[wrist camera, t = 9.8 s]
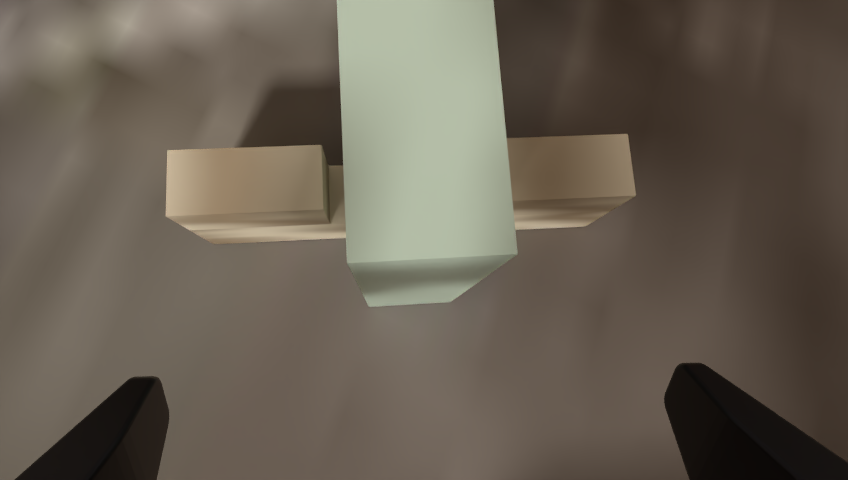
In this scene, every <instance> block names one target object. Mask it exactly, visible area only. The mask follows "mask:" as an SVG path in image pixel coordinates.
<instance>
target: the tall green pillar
mask: <svg viewBox="0 0 848 480" xmlns="http://www.w3.org/2000/svg"><path fill="white" fill-rule="evenodd" d="M337 16H338V41H339V67H340V93H341V119H342V145H343V171H344V197H345V222H346V248H347V264H348V266H349V268H350V270H351V272H352V274H353V276H354V278H355V280H356V282H357V284H358V286H359V288H360V290H361V292H362V294H363V296H364V298H365V300H366V302H367V304H368V306H369V307H375V306H392V305H409V304H426V303H443V302H451V301H453V300H454V299H455V298H457V297H458V296H460V295H461V294H462V293H464V292H465V291H467V290H468V289H469V288H471V287H472V286H474V285H475V284H476V283H478V282H479V281H481V280H482V279H483V278H485V277H486V276H488V275H489V274H490V273H492V272H493V271H495V270H496V269H497V268H499V267H500V266H502V265H503V264H504V263H506V262H507V261H509V260H510V259H511V258H513V257H514V256H516V255H517V254H518V253H517V243H516V232H515V222H514V211H513V201H512V190H511V180H510V169H509V159H508V148H507V138H506V127H505V117H504V106H503V96H502V85H501V75H500V64H499V54H498V43H497V33H496V22H495V12H494V1H493V0H337Z"/></svg>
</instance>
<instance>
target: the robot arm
mask: <svg viewBox="0 0 848 480" xmlns="http://www.w3.org/2000/svg"><path fill="white" fill-rule="evenodd" d="M664 403H665V408H666V411H667V414H668V417H669V420H670V423H671V426H672V429H673V432H674V435H675V438H676V441H677V444H678V447H679V450H680V453H681V456H682V459H683V462H684V465H685V468H686V471H687V474H688V477H689V479H690V480H848V462H846V461H845V460H843V459H842V458H840V457H839V456H837V455H836V454H835V453H833V452H832V451H830V450H829V449H827V448H826V447H824V446H823V445H821V444H820V443H818V442H817V441H816V440H814V439H813V438H811V437H810V436H808V435H807V434H805V433H804V432H802V431H801V430H800V429H798V428H797V427H795V426H794V425H792V424H791V423H789V422H788V421H786V420H785V419H783V418H782V417H781V416H779V415H778V414H776V413H775V412H773V411H772V410H770V409H769V408H767V407H766V406H764V405H763V404H762V403H760V402H759V401H757V400H756V399H754V398H753V397H751V396H750V395H748V394H747V393H746V392H744V391H743V390H741V389H740V388H738V387H737V386H735V385H734V384H732V383H731V382H729V381H728V380H727V379H725V378H724V377H722V376H721V375H719V374H718V373H716V372H715V371H713V370H712V369H711V368H709V367H708V366H706V365H704V364H702V363H681V364H679V365H678V366H677V367H676V368H675V371H674V373H673V375H672V378H671V380H670V383H669V385H668V387H667V390H666V392H665V397H664ZM168 424H169V409H168V405H167V402H166V398H165V394H164V391H163V387H162V383H161V381H160V379H159V378H158V377H155V376H146V377H133V378H130V379H129V380H127V381H126V382H125V383H124V384H123V385H122V386H120V387H119V388H118V389H117V390H116V391H115V392H114V393H112V394H111V395H110V396H109V397H108V398H107V399H106V400H105V401H103V402H102V403H101V404H100V405H99V406H98V407H97V408H95V409H94V410H93V411H92V412H91V413H90V414H89V415H88V416H86V417H85V418H84V419H83V420H82V421H81V422H80V423H78V424H77V425H76V426H75V427H74V428H73V429H72V430H70V431H69V432H68V433H67V434H66V435H65V436H64V437H63V438H61V439H60V440H59V441H58V442H57V443H56V444H55V445H53V446H52V447H51V448H50V449H49V450H48V451H47V452H46V453H44V454H43V455H42V456H41V457H40V458H39V459H38V460H36V461H35V462H34V463H33V464H32V465H31V466H30V467H28V468H27V469H26V470H25V471H24V472H23V473H22V474H21V475H19V476H18V477H17V478H16V479H15V480H157V475H158V470H159V466H160V461H161V456H162V452H163V447H164V443H165V438H166V433H167V429H168Z"/></svg>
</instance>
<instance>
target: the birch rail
mask: <svg viewBox="0 0 848 480" xmlns="http://www.w3.org/2000/svg"><path fill="white" fill-rule="evenodd" d="M507 148H508V159H509V169H510V180H511V190H512V201H513V211H514V222H515V230H521V229H542V228H563V227H584V226H587V225H589V224H590V223H592V222H593V221H595V220H597V219H598V218H600V217H602V216H603V215H605V214H607V213H608V212H610V211H612V210H613V209H615V208H617V207H618V206H620V205H621V204H623V203H625V202H626V201H628V200H630V199H631V198H633V197H635V196H636V191H635V184H634V177H633V169H632V162H631V154H630V147H629V139H628V134H609V135H582V136H554V137H526V138H507ZM166 217H168V218H170V219H171V220H173V221H175V222H176V223H178V224H180V225H182V226H183V227H185V228H187V229H188V230H190V231H192V232H194V233H195V234H197V235H199V236H201V237H202V238H204V239H206V240H207V241H209V242H211V243H213V244H229V243H250V242H271V241H292V240H312V239H333V238H346V222H345V197H344V171H343V165H338V166H328V163H327V160H326V157H325V154H324V151H323V148H322V145H302V146H274V147H246V148H218V149H190V150H167V189H166Z"/></svg>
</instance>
